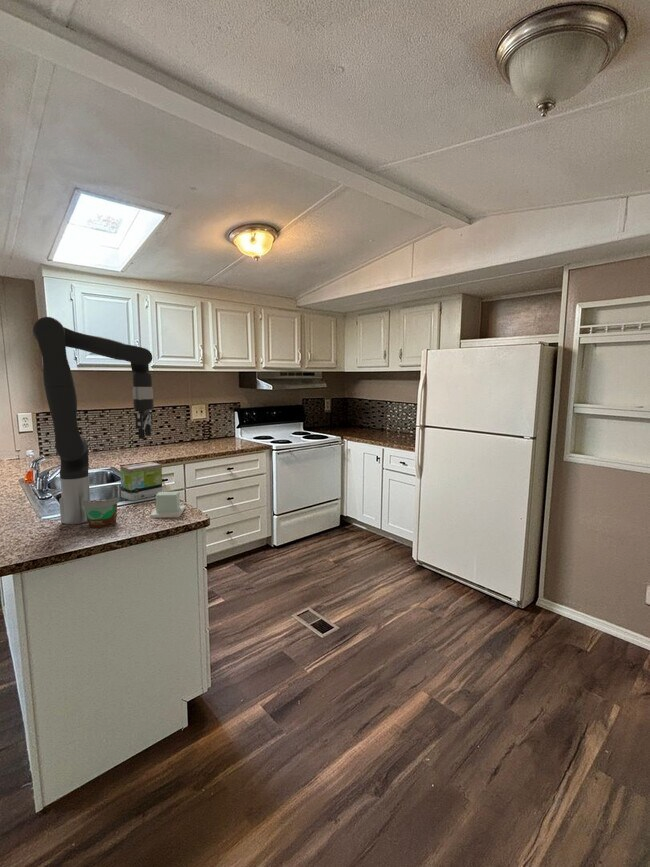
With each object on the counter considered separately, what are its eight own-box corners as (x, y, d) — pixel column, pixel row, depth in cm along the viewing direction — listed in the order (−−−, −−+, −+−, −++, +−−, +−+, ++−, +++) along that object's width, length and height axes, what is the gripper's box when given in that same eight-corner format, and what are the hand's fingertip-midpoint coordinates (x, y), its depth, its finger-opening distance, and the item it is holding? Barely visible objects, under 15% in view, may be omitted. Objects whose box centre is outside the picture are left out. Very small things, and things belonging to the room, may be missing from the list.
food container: (79, 530, 147) (77, 503, 146) (84, 524, 153) (82, 498, 152) (116, 527, 150) (115, 501, 149) (120, 522, 156) (119, 496, 155)
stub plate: (150, 517, 161) (149, 508, 160) (158, 509, 172) (157, 500, 171) (179, 517, 162) (178, 508, 162) (185, 508, 173) (185, 499, 172)
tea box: (132, 501, 181) (130, 469, 179) (121, 497, 187) (119, 466, 185) (163, 494, 193) (162, 463, 191) (151, 490, 199) (150, 460, 197)
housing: (156, 512, 164) (155, 495, 163) (159, 508, 169) (159, 491, 168) (177, 511, 165) (176, 494, 164) (179, 507, 170) (179, 491, 169)
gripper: (139, 397, 174) (141, 434, 176) (127, 398, 160) (129, 439, 162) (157, 397, 175) (159, 434, 177) (147, 398, 161) (149, 439, 163)
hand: (145, 437), depth 169 cm, fingers open, 8 cm apart
